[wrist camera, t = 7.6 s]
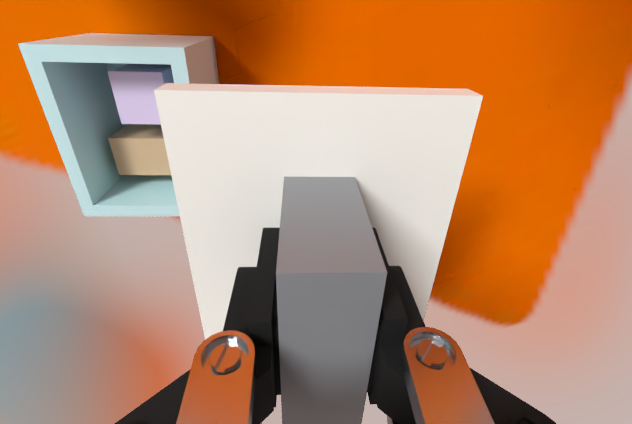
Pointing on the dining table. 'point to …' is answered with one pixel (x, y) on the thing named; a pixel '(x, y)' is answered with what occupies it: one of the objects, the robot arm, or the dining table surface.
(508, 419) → the robot arm
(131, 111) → the tub
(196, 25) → the dining table surface
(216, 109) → the lid
